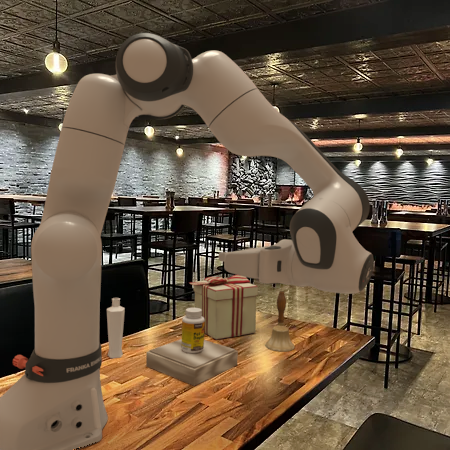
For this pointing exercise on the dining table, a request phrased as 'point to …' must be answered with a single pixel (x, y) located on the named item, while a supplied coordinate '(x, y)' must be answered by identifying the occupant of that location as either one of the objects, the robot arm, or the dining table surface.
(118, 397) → the dining table surface
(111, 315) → the perfume bottle
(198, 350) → the supplement bottle
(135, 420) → the dining table surface
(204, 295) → the gift box
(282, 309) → the hand bell
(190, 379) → the riser
